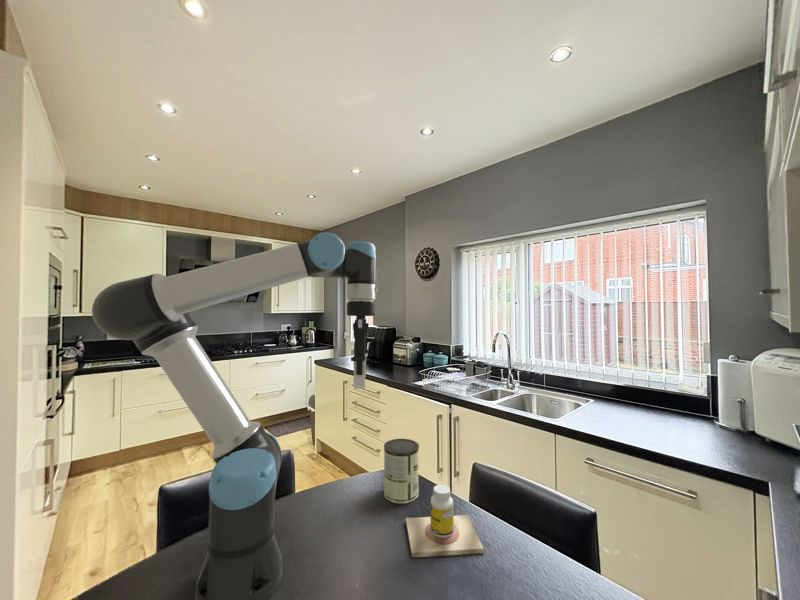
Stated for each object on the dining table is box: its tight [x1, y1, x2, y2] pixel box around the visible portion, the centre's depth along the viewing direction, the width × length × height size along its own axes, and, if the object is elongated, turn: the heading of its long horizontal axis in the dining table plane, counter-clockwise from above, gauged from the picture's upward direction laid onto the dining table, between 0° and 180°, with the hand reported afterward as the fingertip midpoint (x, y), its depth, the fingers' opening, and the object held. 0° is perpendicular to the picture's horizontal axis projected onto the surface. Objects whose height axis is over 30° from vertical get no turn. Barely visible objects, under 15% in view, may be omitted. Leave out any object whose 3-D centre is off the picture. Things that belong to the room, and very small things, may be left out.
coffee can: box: [383, 438, 420, 505], centre depth 95 cm, size 10×10×14 cm
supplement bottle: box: [430, 484, 454, 538], centre depth 77 cm, size 5×5×10 cm
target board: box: [405, 514, 485, 558], centre depth 77 cm, size 16×12×1 cm
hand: (360, 382), depth 85 cm, fingers open, 13 cm apart
